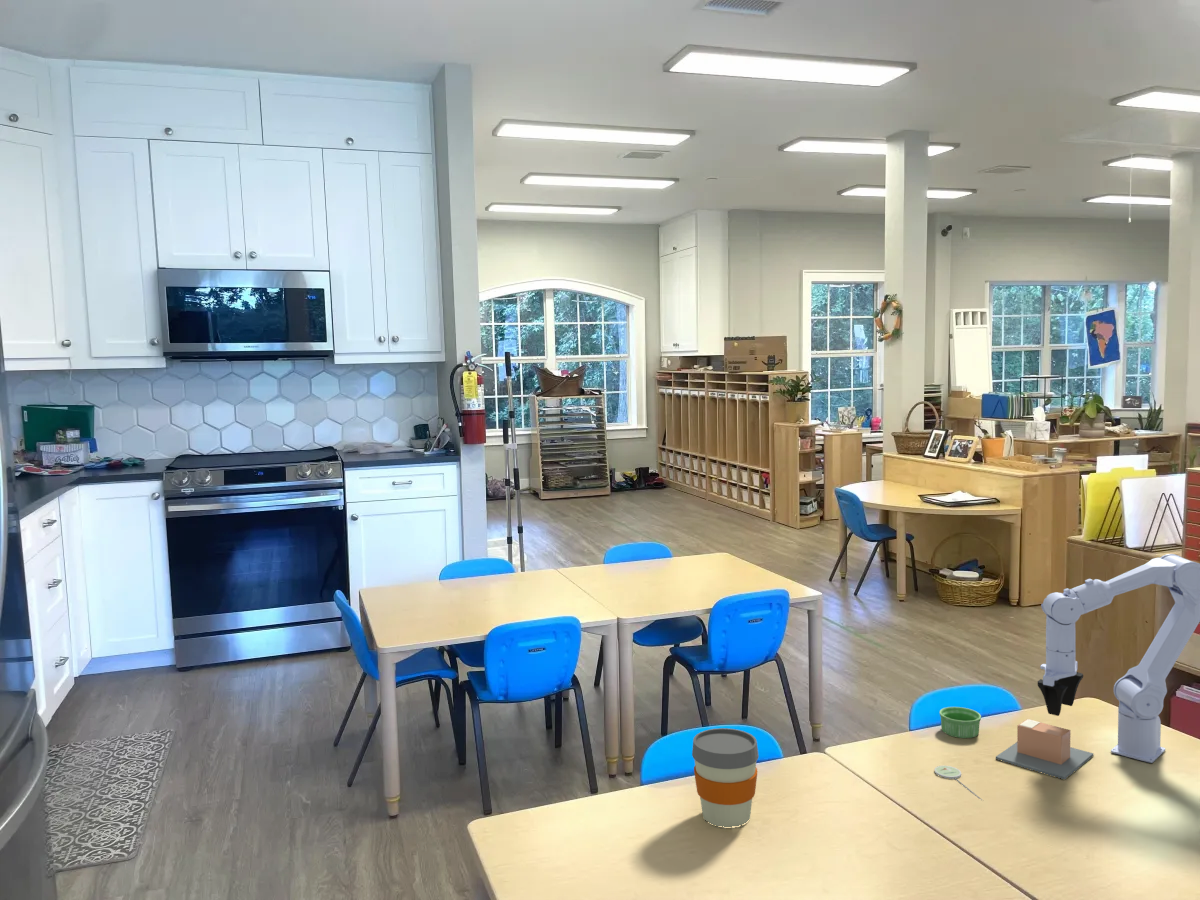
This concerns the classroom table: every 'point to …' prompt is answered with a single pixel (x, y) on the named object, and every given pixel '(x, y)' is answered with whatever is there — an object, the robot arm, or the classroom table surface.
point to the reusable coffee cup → (725, 774)
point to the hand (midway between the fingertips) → (1060, 709)
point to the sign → (950, 774)
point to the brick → (1043, 741)
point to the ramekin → (960, 722)
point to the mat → (1046, 766)
